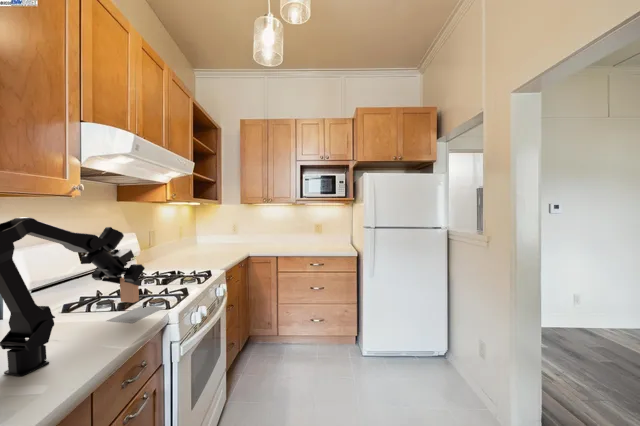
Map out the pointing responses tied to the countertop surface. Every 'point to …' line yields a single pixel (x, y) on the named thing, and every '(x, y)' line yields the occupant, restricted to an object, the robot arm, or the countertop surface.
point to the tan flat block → (128, 291)
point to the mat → (135, 314)
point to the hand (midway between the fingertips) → (132, 284)
